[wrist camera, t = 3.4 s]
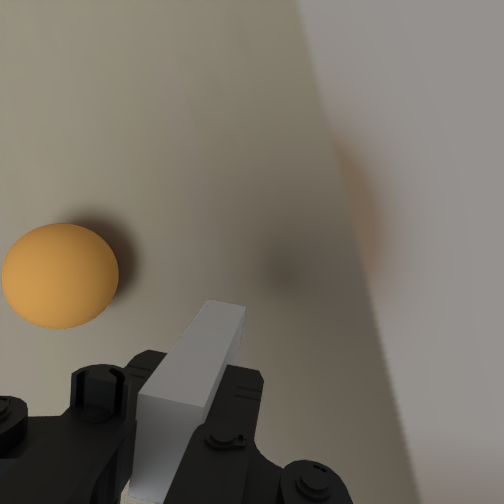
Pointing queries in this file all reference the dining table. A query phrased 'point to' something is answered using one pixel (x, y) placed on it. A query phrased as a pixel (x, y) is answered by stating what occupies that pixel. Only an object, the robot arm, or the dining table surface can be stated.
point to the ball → (60, 276)
